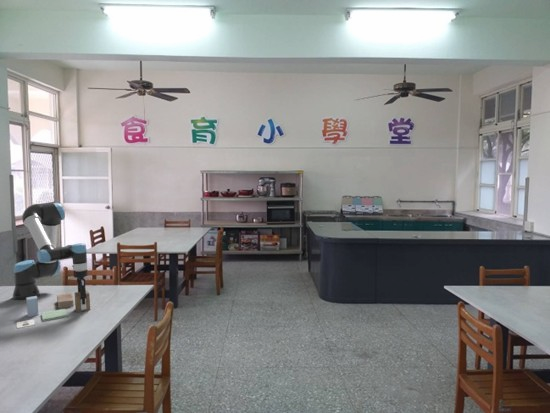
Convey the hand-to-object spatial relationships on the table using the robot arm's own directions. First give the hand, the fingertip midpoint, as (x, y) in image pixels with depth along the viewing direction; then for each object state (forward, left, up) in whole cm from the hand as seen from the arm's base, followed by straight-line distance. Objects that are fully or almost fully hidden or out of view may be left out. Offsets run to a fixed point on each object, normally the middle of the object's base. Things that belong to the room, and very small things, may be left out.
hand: (82, 307), depth 231 cm
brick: (-18, -7, -2) cm, 20 cm away
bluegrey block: (-8, -25, -1) cm, 26 cm away
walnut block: (0, 0, -1) cm, 1 cm away
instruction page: (+6, -29, -1) cm, 30 cm away
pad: (+2, -15, -1) cm, 15 cm away
